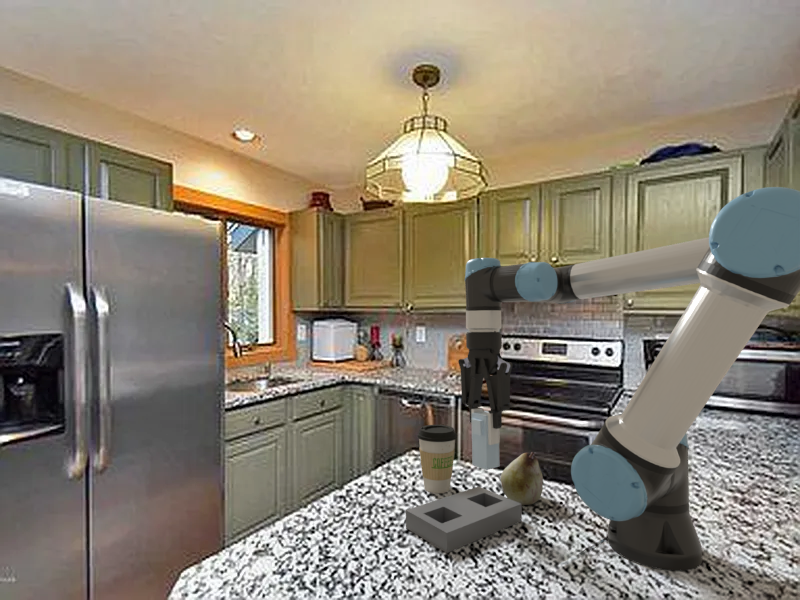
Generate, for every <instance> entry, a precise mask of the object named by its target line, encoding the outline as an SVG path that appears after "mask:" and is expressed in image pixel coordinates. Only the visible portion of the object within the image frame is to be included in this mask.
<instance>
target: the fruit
mask: <svg viewBox="0 0 800 600" xmlns="http://www.w3.org/2000/svg"><path fill="white" fill-rule="evenodd" d="M542 473H543V472H542V470H541V468H540V464H539V460H538V458H537V456H536V455H535V451H531V452H524V453H522V454H520V455H519V456H518V457H516V458H515V459H514V460H512V461H511V462H510V463H508V465H507V466H506V467H505V468H504V469H503V470H502V472H501V475H500V484H501V489H502V490H503V492H504V495H505V497H506V498H508V499H511V500H513V501H516V502H518V503H521V504H522V505H523V506H529V505H533V504H535V503H537V502H538V501H539V500H540V498H541V497H542V494H543V490H544V489H543V488H544V486H543V484H544V483H543V482H544V477H543V474H542Z"/></svg>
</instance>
